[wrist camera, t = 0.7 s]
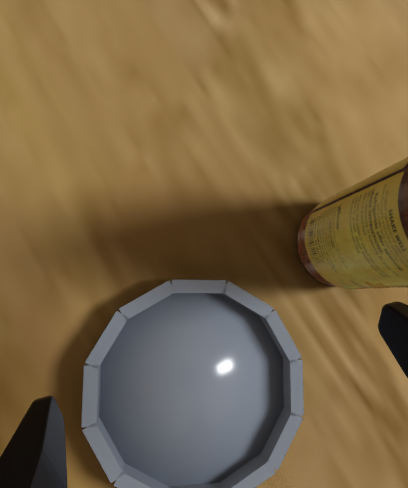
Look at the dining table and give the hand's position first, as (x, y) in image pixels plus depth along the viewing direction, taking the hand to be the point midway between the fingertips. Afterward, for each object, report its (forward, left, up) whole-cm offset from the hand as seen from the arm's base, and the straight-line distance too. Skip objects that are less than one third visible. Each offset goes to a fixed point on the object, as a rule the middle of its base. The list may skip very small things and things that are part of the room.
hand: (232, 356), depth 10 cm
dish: (-3, +3, -14) cm, 15 cm away
